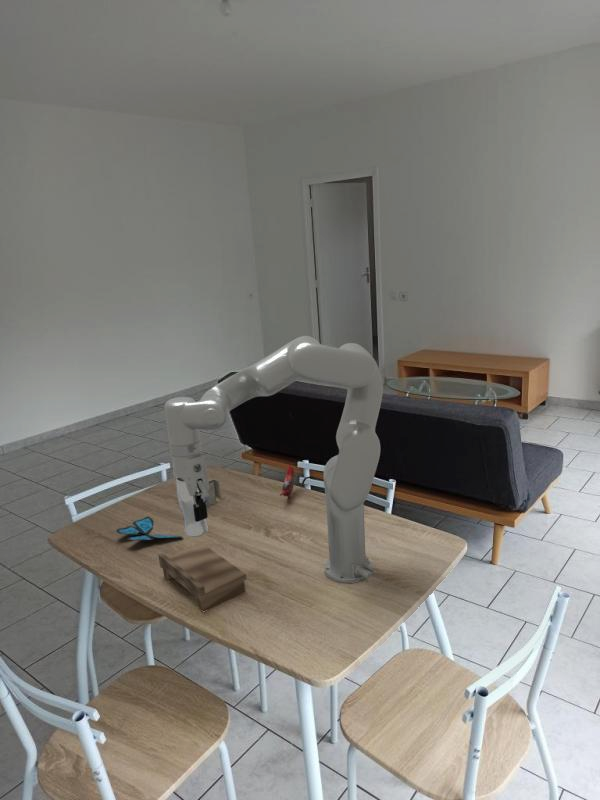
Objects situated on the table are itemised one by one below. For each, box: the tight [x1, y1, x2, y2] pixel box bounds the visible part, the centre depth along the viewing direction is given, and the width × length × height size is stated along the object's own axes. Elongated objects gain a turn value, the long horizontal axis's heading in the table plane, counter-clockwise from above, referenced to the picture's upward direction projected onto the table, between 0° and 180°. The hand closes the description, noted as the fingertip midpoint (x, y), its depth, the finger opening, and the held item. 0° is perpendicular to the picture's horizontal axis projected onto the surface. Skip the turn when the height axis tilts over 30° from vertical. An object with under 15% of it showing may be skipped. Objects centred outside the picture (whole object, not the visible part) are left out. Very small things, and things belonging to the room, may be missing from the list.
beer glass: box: [176, 477, 209, 538], centre depth 146 cm, size 7×7×15 cm
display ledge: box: [157, 542, 248, 612], centre depth 151 cm, size 22×13×7 cm, turn 39°
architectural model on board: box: [206, 478, 222, 508], centre depth 196 cm, size 11×3×10 cm, turn 139°
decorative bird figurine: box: [279, 465, 295, 501], centre depth 195 cm, size 3×18×10 cm, turn 167°
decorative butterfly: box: [116, 516, 183, 541], centre depth 178 cm, size 20×14×3 cm
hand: (194, 514), depth 146 cm, fingers closed on beer glass, 6 cm apart
